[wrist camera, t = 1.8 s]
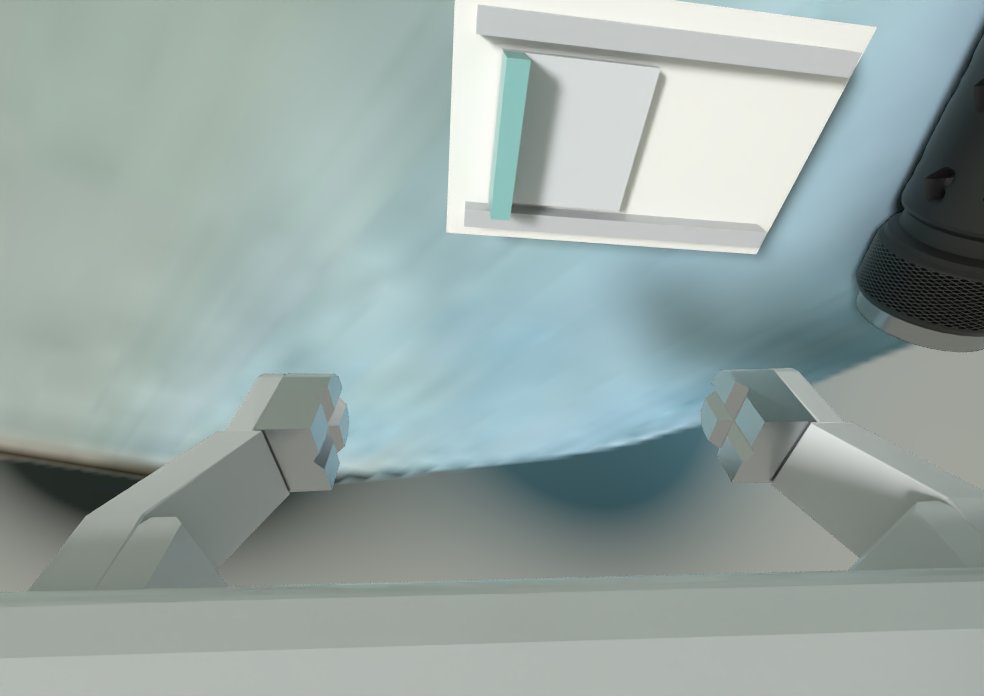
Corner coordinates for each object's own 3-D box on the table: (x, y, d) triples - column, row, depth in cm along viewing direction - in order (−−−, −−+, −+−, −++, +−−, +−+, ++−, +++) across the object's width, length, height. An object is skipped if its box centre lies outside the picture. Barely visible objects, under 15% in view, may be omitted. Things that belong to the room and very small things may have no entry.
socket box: (457, -28, 23) (455, -29, 18) (813, 19, 25) (895, 29, 20) (448, 200, 30) (445, 241, 26) (721, 221, 32) (766, 263, 28)
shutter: (501, 47, 21) (507, 57, 18) (655, 65, 21) (679, 77, 19) (487, 195, 25) (490, 219, 23) (615, 206, 26) (631, 229, 23)
